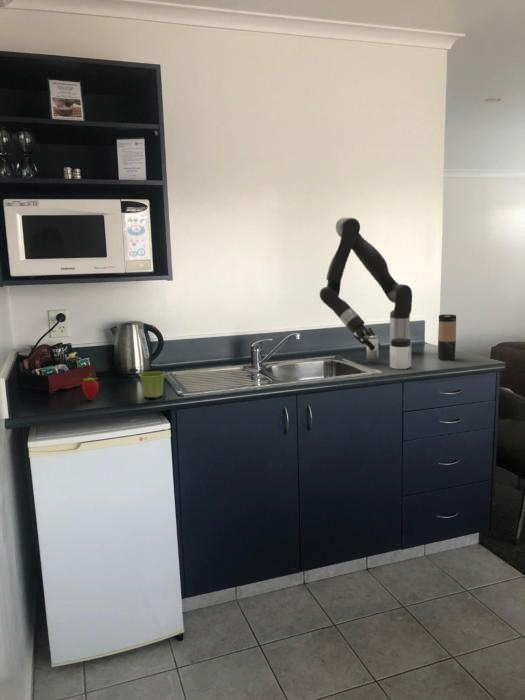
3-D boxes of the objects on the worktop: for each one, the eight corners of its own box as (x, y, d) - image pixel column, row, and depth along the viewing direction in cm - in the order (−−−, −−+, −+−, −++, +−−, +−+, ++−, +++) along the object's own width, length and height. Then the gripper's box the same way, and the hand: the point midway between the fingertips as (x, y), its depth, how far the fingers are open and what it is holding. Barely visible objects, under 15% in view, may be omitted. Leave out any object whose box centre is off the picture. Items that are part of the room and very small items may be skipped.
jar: (386, 366, 244) (386, 339, 242) (401, 364, 247) (401, 337, 245) (398, 370, 236) (399, 341, 234) (414, 368, 239) (415, 340, 237)
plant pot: (142, 394, 208) (140, 371, 207) (168, 393, 209) (166, 370, 208) (138, 401, 199) (137, 377, 198) (165, 399, 200) (164, 376, 198)
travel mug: (457, 358, 256) (458, 314, 253) (452, 361, 250) (454, 316, 247) (440, 357, 261) (441, 314, 257) (435, 360, 254) (436, 316, 251)
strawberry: (99, 397, 207) (97, 370, 205) (100, 402, 200) (98, 374, 198) (82, 399, 205) (80, 372, 203) (83, 404, 198) (80, 376, 196)
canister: (374, 356, 257) (374, 334, 255) (381, 358, 252) (381, 336, 250) (364, 357, 255) (363, 336, 253) (371, 359, 250) (370, 337, 248)
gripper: (349, 316, 249) (374, 345, 244) (364, 313, 260) (388, 340, 255) (339, 328, 253) (363, 356, 248) (354, 323, 264) (377, 350, 259)
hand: (376, 347), depth 251 cm, fingers closed on canister, 5 cm apart
